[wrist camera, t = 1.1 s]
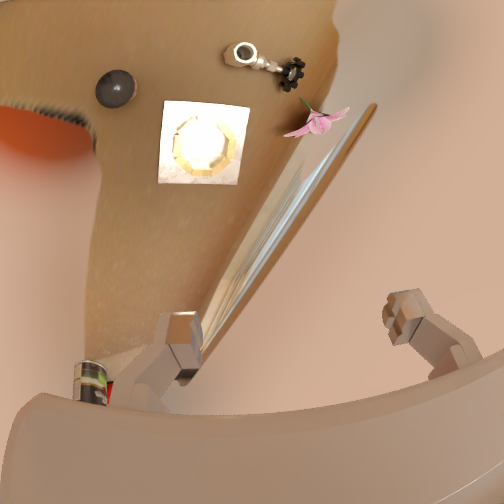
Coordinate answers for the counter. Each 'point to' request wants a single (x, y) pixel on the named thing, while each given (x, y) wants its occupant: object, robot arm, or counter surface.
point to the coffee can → (90, 383)
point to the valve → (264, 63)
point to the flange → (201, 142)
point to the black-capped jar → (116, 89)
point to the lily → (317, 122)
